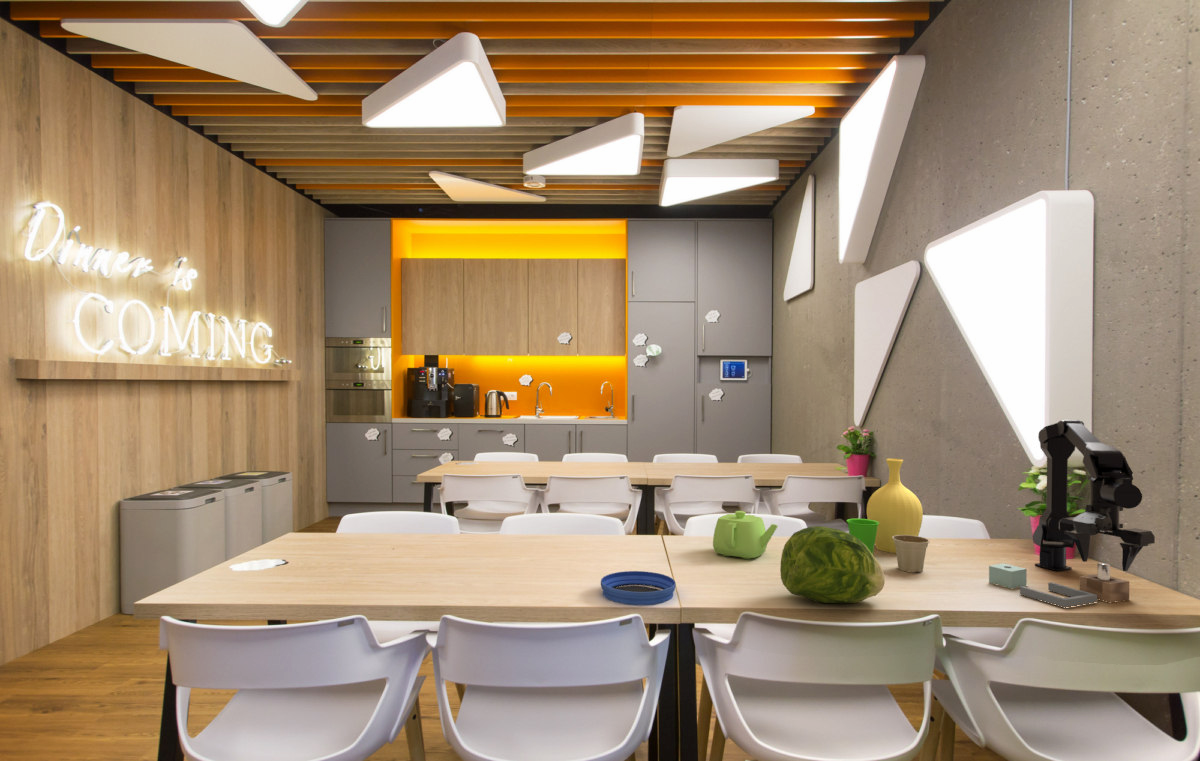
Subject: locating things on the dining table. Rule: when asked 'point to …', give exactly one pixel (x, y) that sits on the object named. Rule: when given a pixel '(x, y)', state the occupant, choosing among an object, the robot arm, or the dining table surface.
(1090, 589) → the block
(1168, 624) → the dining table surface
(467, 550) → the dining table surface
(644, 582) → the bowl
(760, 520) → the teapot
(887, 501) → the vase
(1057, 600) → the grey u-shaped bracket
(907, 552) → the flower pot
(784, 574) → the lettuce
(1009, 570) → the block
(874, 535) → the cup
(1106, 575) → the cylinder
